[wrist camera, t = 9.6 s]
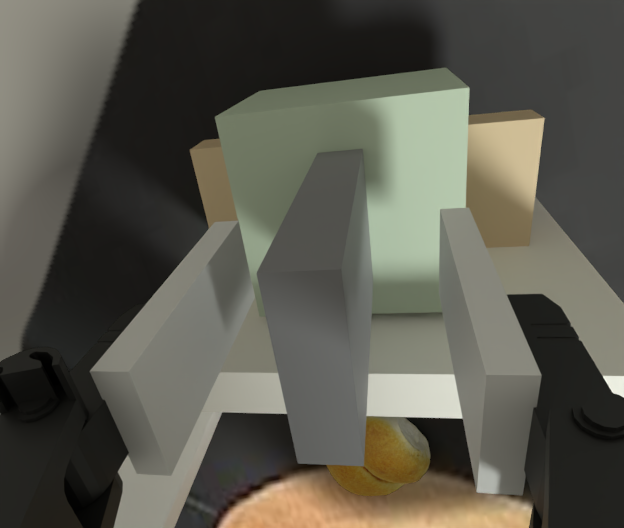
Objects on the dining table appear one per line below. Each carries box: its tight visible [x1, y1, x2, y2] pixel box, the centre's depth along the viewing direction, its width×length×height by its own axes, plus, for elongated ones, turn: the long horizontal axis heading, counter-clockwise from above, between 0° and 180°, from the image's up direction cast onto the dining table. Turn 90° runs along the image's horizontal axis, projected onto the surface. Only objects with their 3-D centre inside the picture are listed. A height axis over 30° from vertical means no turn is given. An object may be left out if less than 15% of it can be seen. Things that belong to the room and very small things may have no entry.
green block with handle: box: [215, 68, 469, 466], centre depth 15 cm, size 8×8×14 cm
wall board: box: [190, 110, 624, 419], centre depth 22 cm, size 20×10×16 cm, turn 97°
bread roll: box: [327, 416, 431, 496], centre depth 38 cm, size 8×9×4 cm
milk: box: [114, 412, 222, 528], centre depth 27 cm, size 6×6×22 cm
